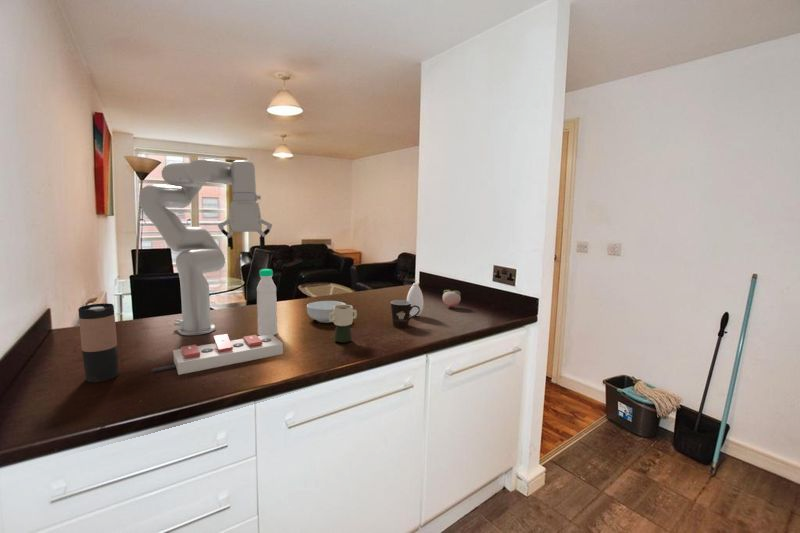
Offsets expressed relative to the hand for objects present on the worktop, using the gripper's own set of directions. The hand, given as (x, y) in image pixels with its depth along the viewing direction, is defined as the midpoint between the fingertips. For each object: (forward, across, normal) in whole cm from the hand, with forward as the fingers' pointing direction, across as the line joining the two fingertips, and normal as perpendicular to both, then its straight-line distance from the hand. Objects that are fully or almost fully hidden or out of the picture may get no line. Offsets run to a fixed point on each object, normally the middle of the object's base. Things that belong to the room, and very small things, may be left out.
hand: (246, 248), depth 131 cm
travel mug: (+33, +40, +15) cm, 54 cm away
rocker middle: (+29, +9, +13) cm, 33 cm away
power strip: (+34, +10, +13) cm, 37 cm away
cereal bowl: (+34, -32, -18) cm, 50 cm away
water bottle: (+34, -6, -7) cm, 35 cm away
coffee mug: (+35, -60, +3) cm, 69 cm away
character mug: (+34, -30, +11) cm, 47 cm away
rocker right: (+30, 0, +11) cm, 32 cm away
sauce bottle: (+35, -71, -9) cm, 79 cm away
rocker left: (+30, +18, +15) cm, 38 cm away
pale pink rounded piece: (+35, -96, -16) cm, 104 cm away
